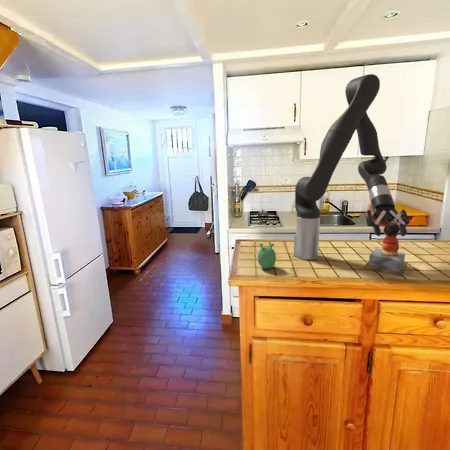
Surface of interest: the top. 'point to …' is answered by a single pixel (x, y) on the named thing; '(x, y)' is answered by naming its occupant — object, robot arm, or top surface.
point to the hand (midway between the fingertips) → (391, 235)
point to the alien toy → (266, 256)
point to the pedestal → (387, 262)
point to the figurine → (390, 239)
